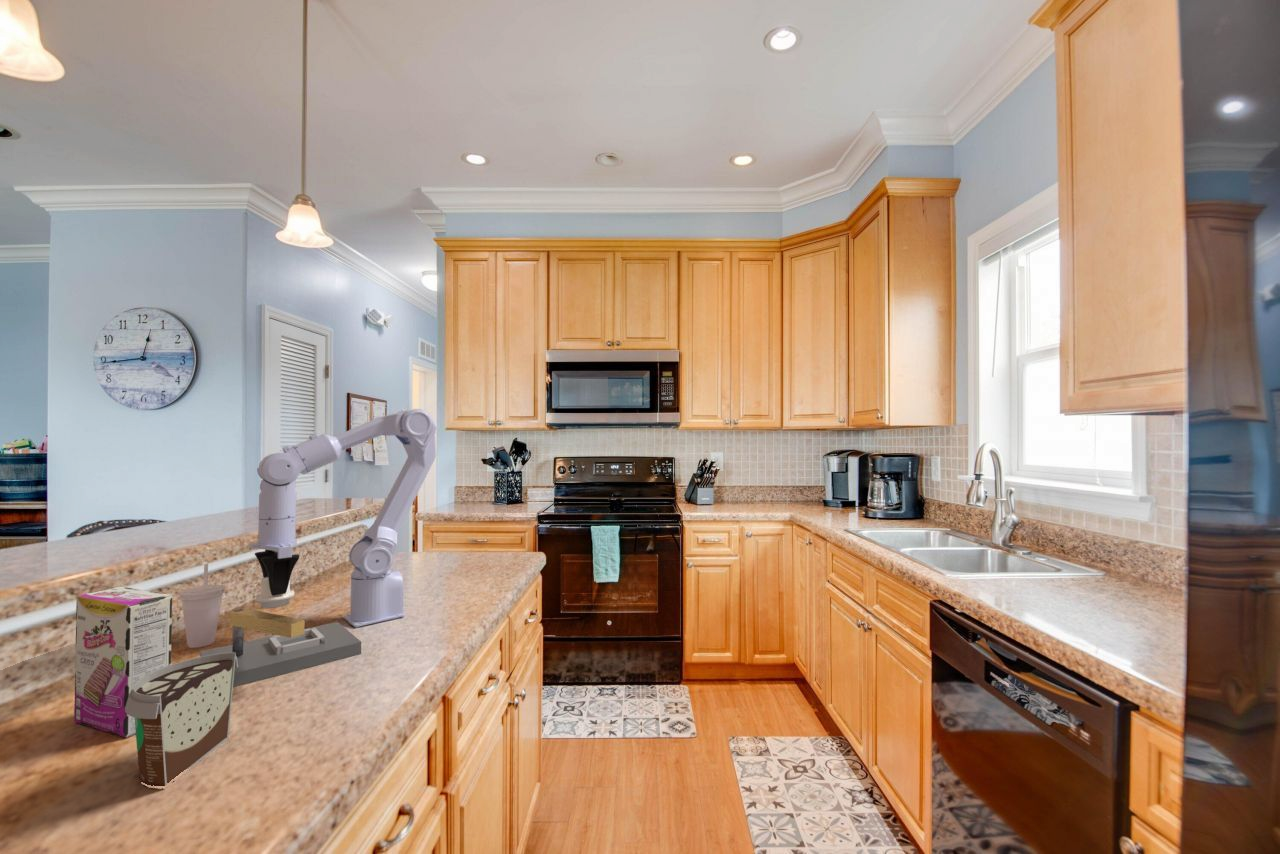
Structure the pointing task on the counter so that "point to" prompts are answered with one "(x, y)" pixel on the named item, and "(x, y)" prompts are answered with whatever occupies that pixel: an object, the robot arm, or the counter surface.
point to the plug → (273, 601)
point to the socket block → (291, 652)
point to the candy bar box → (117, 652)
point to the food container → (181, 714)
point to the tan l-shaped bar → (262, 626)
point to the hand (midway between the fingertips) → (275, 591)
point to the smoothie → (201, 612)
